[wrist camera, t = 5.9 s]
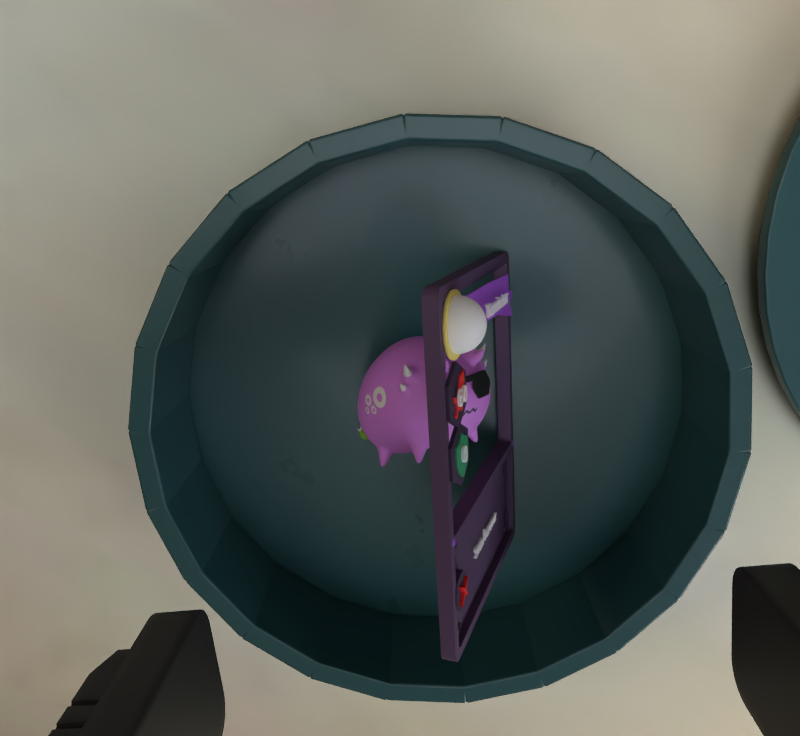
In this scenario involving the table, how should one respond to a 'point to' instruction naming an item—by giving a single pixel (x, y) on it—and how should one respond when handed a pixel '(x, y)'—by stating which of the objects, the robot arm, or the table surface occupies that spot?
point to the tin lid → (782, 271)
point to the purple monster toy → (453, 433)
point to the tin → (532, 437)
